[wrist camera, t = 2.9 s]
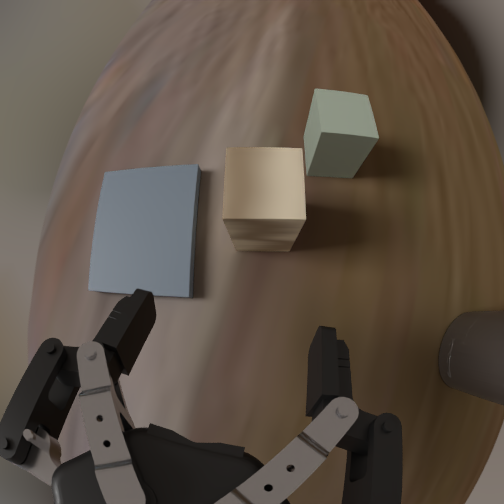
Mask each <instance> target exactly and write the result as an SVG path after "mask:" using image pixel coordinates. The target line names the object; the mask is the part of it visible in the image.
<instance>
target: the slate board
mask: <svg viewBox="0 0 504 504" xmlns="http://www.w3.org/2000/svg"><path fill="white" fill-rule="evenodd" d="M200 176H201V170H200V168H199V165H198V164H193V165H175V166H161V167H149V168H138V169H128V170H119V171H111V172H105V174H104V179H103V183H102V188H101V193H100V198H99V204H98V209H97V215H96V222H95V228H94V235H93V243H92V252H91V262H90V273H89V287H88V290H90V291H98V292H110V293H122V294H133V293H134V291H135V290H136V289H138V288H139V289H143V290H147V291H151V292H152V293H153V296H169V297H189V298H193V278H194V257H195V239H196V224H197V210H198V198H199V186H200Z"/></svg>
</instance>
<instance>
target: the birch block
mask: <svg viewBox="0 0 504 504" xmlns="http://www.w3.org/2000/svg"><path fill="white" fill-rule="evenodd" d="M222 219H223V221H224V224H225V226H226V228H227V231H228V233H229V235H230V238H231V240H232V242H233V245H234V247H235V249H236V251H277V252H289V251H290V250H291V248H292V246H293V244H294V242H295V240H296V238H297V236H298V234H299V232H300V230H301V228H302V226H303V225H304V223H305V221H306V205H305V185H304V169H303V155H302V148H272V147H235V148H226V163H225V179H224V197H223V216H222Z"/></svg>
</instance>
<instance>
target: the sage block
mask: <svg viewBox="0 0 504 504" xmlns="http://www.w3.org/2000/svg"><path fill="white" fill-rule="evenodd" d="M378 139H379V136H378V132H377V128H376V124H375V120H374V116H373V113H372V109H371V105H370V102H369V99H368V95H362V94H356V93H349V92H342V91H334V90H324V89H315V91H314V95H313V99H312V104H311V108H310V112H309V117H308V121H307V125H306V129H305V133H304V146H305V158H306V172H307V176H323V177H340V178H353V177H354V175H355V174H356V172H357V171H358V169H359V168H360V166H361V165H362V163H363V162H364V160H365V159H366V157H367V156H368V154H369V153H370V151H371V150H372V148H373V147H374V145H375V144H376V142H377V141H378Z"/></svg>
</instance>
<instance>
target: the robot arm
mask: <svg viewBox="0 0 504 504" xmlns="http://www.w3.org/2000/svg"><path fill="white" fill-rule="evenodd" d="M155 320H156V309H155V303H154V297H153V293H152V292H151V291H147V290H143V289H139V288H138V289H136V290H135V291H134V293H133V294H132V296H131V297H128V296H126V297H124V298H123V299H122V300H120V301H119V302H118V303H117V304H116V306H115V307H114V309H113V311H112V312H111V313H110V315H109V318H107V320H106V321H105V323H104V324H103V326H102V327H101V329H100V330H99V332H98V334H97V335H96V337H95V338H94V340H93V341H90V342H86V343H84V344H82V345H81V346H80V347H69V346H63V344H62V342H61V341H60V340H59V339H56V338H49V339H47V340H45V341H44V342H43V343H42V344H41V346H40V347H39V349H38V351H37V352H36V354H35V356H34V357H33V359H32V361H31V363H30V364H29V366H28V368H27V370H26V372H25V373H24V375H23V377H22V379H21V381H20V383H19V385H18V387H17V388H16V390H15V392H14V394H13V397H12V399H11V401H10V403H9V405H8V407H7V409H6V411H5V413H4V415H3V418H2V420H1V422H0V456H1V457H3V458H4V459H6V460H8V461H10V462H11V463H12V464H15V465H16V466H18V467H20V468H22V469H25V470H27V471H28V472H30V473H31V474H33V475H34V476H36V477H37V478H39V479H40V480H42V481H43V482H45V483H47V484H48V485H50V486H51V487H52V493H53V499H54V504H290V503H289V501H288V500H287V497H288V496H289V495H290V494H291V493H293V492H294V491H295V490H296V489H297V488H298V487H299V486H300V485H301V484H302V483H303V482H304V481H305V480H306V479H307V478H308V477H309V476H310V475H311V474H312V473H313V472H314V471H315V470H316V469H317V468H318V467H319V466H320V465H321V464H322V462H323V461H324V460H325V459H326V458H327V456H328V454H329V452H330V451H331V450H332V449H333V448H334V447H335V446H337V447H339V448H342V449H345V450H347V462H346V472H345V482H344V490H343V498H342V504H401V494H402V426H401V422H400V420H399V419H398V417H397V416H395V415H393V414H391V413H383V414H381V415H379V416H375V415H372V414H370V413H367V412H364V411H362V410H361V409H359V408H358V407H357V405H356V404H355V402H354V401H353V398H352V385H351V371H350V361H349V349H348V347H347V346H346V344H345V342H344V340H337V337H336V329H335V328H332V327H325V326H319V327H318V330H317V332H316V334H315V336H314V339H313V341H312V343H311V346H310V349H309V354H308V380H307V401H306V416H309V417H312V422H311V423H310V424H309V425H308V426H307V427H306V428H305V429H304V430H303V431H302V432H301V433H300V434H299V435H298V436H297V437H296V438H295V439H294V440H293V441H292V442H290V443H289V444H288V445H287V446H286V447H285V448H284V449H283V450H282V451H281V452H280V453H278V454H277V455H276V456H275V457H274V458H273V459H272V460H271V461H269V462H268V463H267V464H266V465H265V466H264V465H263V463H261V462H260V461H259V460H258V459H257V458H255V457H254V456H252V455H250V454H248V453H246V452H244V449H245V447H239V446H234V445H229V444H224V443H195V442H192V441H190V440H188V439H187V438H185V437H183V436H181V435H179V434H178V433H176V432H174V431H172V430H169V429H166V428H163V427H160V426H157V425H154V424H151V423H150V425H149V428H135V426H134V423H133V421H132V419H131V417H130V415H129V412H128V409H127V406H126V403H125V399H124V396H123V392H122V389H121V385H120V381H119V377H120V375H121V373H123V374H126V375H128V376H129V374H130V372H131V370H132V367H133V365H134V363H135V361H136V359H137V357H138V355H139V353H140V351H141V349H142V347H143V345H144V343H145V341H146V339H147V337H148V335H149V333H150V331H151V329H152V328H153V326H154V323H155ZM439 371H440V375H441V377H442V379H443V381H444V382H445V384H447V385H448V386H449V387H452V388H454V389H457V390H460V391H463V392H465V393H468V394H471V395H474V396H477V397H479V398H482V399H485V400H489V401H492V402H495V403H498V404H501V405H504V310H501V311H479V312H466V313H464V314H461V315H460V316H458V317H457V318H456V319H455V320H454V321H453V322H452V323H451V325H450V326H449V328H448V329H447V331H446V333H445V335H444V338H443V340H442V343H441V347H440V352H439ZM80 387H81V390H82V392H81V393H80V394H79V402H80V407H81V412H82V417H83V422H84V426H85V431H86V435H87V439H88V442H89V446H90V450H89V451H87V452H85V453H83V454H81V455H79V456H77V457H75V458H73V459H71V460H69V461H67V462H65V463H63V464H61V461H60V457H61V447H60V444H59V442H58V441H57V440H58V438H59V435H60V433H61V430H62V428H63V425H64V423H65V420H66V418H67V415H68V413H69V411H70V408H71V406H72V404H73V401H74V399H75V397H76V395H77V392H78V390H79V388H80Z"/></svg>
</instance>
